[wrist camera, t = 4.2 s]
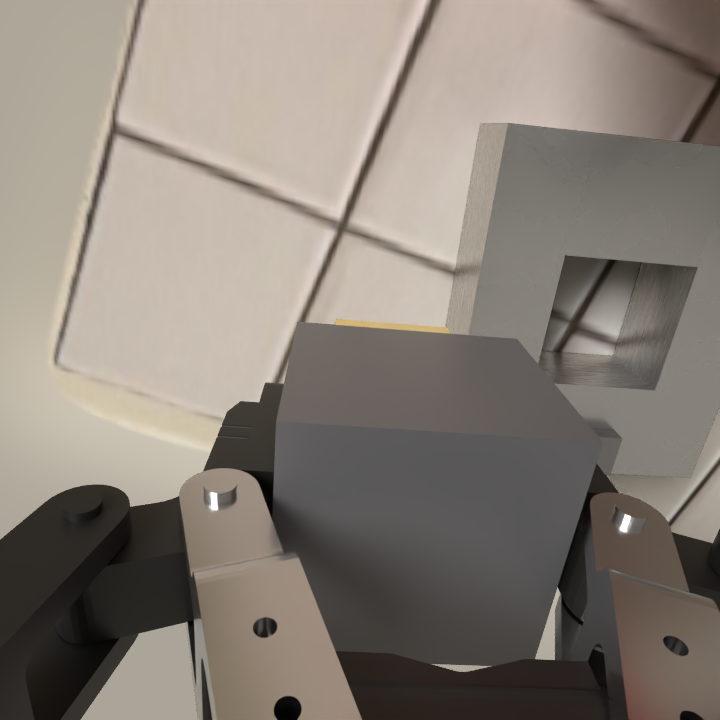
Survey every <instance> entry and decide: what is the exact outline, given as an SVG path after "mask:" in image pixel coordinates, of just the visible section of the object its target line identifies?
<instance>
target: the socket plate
mask: <svg viewBox="0 0 720 720" xmlns="http://www.w3.org/2000/svg"><path fill="white" fill-rule="evenodd" d="M565 255H567V256H578V257H589V258H601V259H612V260H623V261H634V262H642V264H641V267H640V270H639V274H638V277H637V280H636V283H635V287H634V290H633V293H632V296H631V300H630V303H629V306H628V309H627V313H626V316H625V319H624V323H623V326H622V329H621V332H620V336H619V339H618V342H617V345H616V349H615V352H614V355H613V356H604V355H590V354H577V353H563V352H549V351H542V347H543V343H544V339H545V335H546V331H547V327H548V323H549V318H550V314H551V310H552V306H553V302H554V298H555V294H556V290H557V286H558V282H559V278H560V274H561V270H562V266H563V262H564V258H565ZM446 328H448V329H449V331H450V333H451V334H461V335H474V336H487V337H500V338H513V339H518V341H519V342H520V343H521V344H522V345H523V347H524V348H525V349H526V350H527V351H528V353H529V354H530V355H531V356H532V357H533V359H534V360H535V361H536V362H537V363H538V365H539V366H540V367H541V368H542V369H543V371H544V372H545V373H546V374H547V375H548V377H549V378H550V379H551V380H552V381H553V383H554V384H555V385H556V386H557V387H558V389H559V390H560V391H561V392H562V393H563V395H564V396H565V397H566V398H567V399H568V401H569V402H570V403H571V404H572V405H573V407H574V408H575V409H576V410H577V411H578V413H579V414H580V415H581V416H582V417H583V419H584V420H585V421H586V422H587V423H588V425H589V426H590V427H591V428H592V429H593V431H594V432H595V433H596V434H597V435H598V437H599V438H600V439H601V440H602V441H603V444H602V448H601V451H600V454H599V457H598V460H597V464H598V466H599V467H600V468H601V470H602V471H603V472H604V474H605V475H610V474H628V475H646V476H665V477H683V478H691V475H692V473H693V470H694V468H695V465H696V463H697V460H698V458H699V456H700V453H701V451H702V448H703V446H704V443H705V441H706V438H707V436H708V433H709V431H710V429H711V426H712V424H713V421H714V419H715V416H716V414H717V411H718V409H719V406H720V146H713V145H704V144H694V143H685V142H676V141H667V140H658V139H649V138H640V137H631V136H621V135H612V134H603V133H594V132H585V131H576V130H567V129H558V128H548V127H539V126H530V125H521V124H512V123H480V128H479V134H478V140H477V146H476V152H475V158H474V164H473V170H472V175H471V181H470V187H469V193H468V199H467V205H466V211H465V217H464V222H463V228H462V234H461V240H460V246H459V252H458V258H457V264H456V270H455V275H454V281H453V287H452V293H451V299H450V305H449V311H448V317H447V323H446Z"/></svg>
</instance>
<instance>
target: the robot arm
mask: <svg viewBox="0 0 720 720" xmlns="http://www.w3.org/2000/svg"><path fill="white" fill-rule="evenodd" d="M283 386H284V384H279V383H265V385H264V389H263V392H262V395H261V398H260V402H259V403H258V402H244V401H241V402H239V403H238V404H237V405H235V406H234V407H233V408H231V409H230V410H229V411H228V412H227V414H226V416H225V419H224V421H223V423H222V427H221V428H220V431H219V433H218V438H216V441H215V443H214V446H213V448H212V451H211V453H210V456H209V458H208V461H207V463H206V466H205V469H204V471H203V472H201V473H198V474H196V475H194V476H193V477H191V478H190V479H188V480H187V481H186V482H185V483H184V484H183V486H182V487H181V490H180V494H179V496H178V497H176V498H173V499H171V500H167V501H164V502H159V503H153V504H146V505H140V506H133V507H130V503H129V499H128V497H127V495H126V494H125V493H124V492H123V491H121V490H120V489H118V488H115V487H112V486H107V485H86V486H80V487H75V488H72V489H69V490H66V491H64V492H61V493H59V494H57V495H55V496H54V497H52V498H51V499H49V500H48V501H46V502H45V503H44V504H43V505H41V506H40V507H39V508H38V509H37V510H36V511H34V512H33V513H32V514H31V515H29V516H28V517H27V518H26V519H25V520H23V521H22V522H21V523H20V524H19V525H17V526H16V527H15V528H14V529H13V530H11V531H10V532H9V533H8V534H7V535H5V536H4V537H3V538H2V539H1V540H0V720H80V719H81V718H82V716H83V715H84V714H85V712H86V711H87V709H88V708H89V706H90V705H91V704H92V702H93V701H94V699H95V698H96V696H97V695H98V693H99V692H100V691H101V689H102V688H103V686H104V685H105V683H106V682H107V680H108V679H109V677H110V676H111V674H112V673H113V672H114V670H115V669H116V667H117V666H118V665H119V663H120V661H121V660H122V659H123V657H124V656H125V654H126V653H127V651H128V650H129V649H130V647H131V646H132V644H133V643H134V641H135V640H136V638H137V636H138V634H139V633H142V632H146V631H150V630H154V629H159V628H163V627H167V626H172V625H176V624H180V623H185V622H186V629H187V637H188V645H189V652H190V661H191V669H192V676H193V684H194V693H195V701H196V710H197V720H720V529H719V531H718V534H717V536H716V538H715V540H714V542H713V543H709V542H705V541H702V540H698V539H694V538H690V537H687V536H683V535H679V534H676V533H672V532H671V528H670V526H669V523H668V521H667V520H666V519H665V517H664V516H663V515H662V514H661V513H660V512H659V511H657V510H656V509H655V508H653V507H652V506H650V505H649V504H647V503H645V502H643V501H641V500H639V499H637V498H634V497H631V496H628V495H625V494H620V493H619V492H618V491H617V490H616V488H615V487H614V486H613V484H612V483H611V482H610V480H609V479H608V478H607V476H606V475H605V474H604V472H603V471H602V470H601V468H600V467H599V466H598V464H597V463H596V467H595V470H594V473H593V476H592V479H591V482H590V486H589V489H588V492H587V495H586V498H585V501H584V504H583V508H582V511H581V514H580V517H579V520H578V523H577V527H576V530H575V533H574V536H573V539H572V542H571V546H570V549H569V552H568V555H567V558H566V561H565V565H564V568H563V571H562V574H561V577H560V580H559V584H558V589H559V591H560V593H561V594H560V596H559V600H558V602H557V606H556V610H555V660H536V659H523V660H518V661H514V662H509V663H505V664H500V665H496V666H492V667H487V668H483V669H479V670H474V671H470V672H457V671H453V670H449V669H446V668H442V667H439V666H435V665H432V664H428V663H424V662H421V661H417V660H414V659H410V658H406V657H403V656H399V655H396V654H392V653H372V652H348V651H335V649H334V647H333V644H332V641H331V639H330V636H329V634H328V631H327V629H326V626H325V623H324V621H323V618H322V616H321V613H320V611H319V608H318V606H317V603H316V600H315V598H314V595H313V593H312V590H311V588H310V585H309V582H308V580H307V577H306V575H305V572H304V570H303V567H302V565H301V562H300V560H299V557H298V556H297V554H296V553H295V552H294V551H290V552H285V553H284V552H283V549H282V546H281V544H280V541H279V538H278V535H277V533H276V530H275V527H274V524H273V521H272V514H273V488H274V461H275V435H276V419H277V414H278V410H279V405H280V400H281V396H282V391H283Z"/></svg>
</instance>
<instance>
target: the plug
mask: <svg viewBox="0 0 720 720" xmlns="http://www.w3.org/2000/svg"><path fill="white" fill-rule="evenodd" d="M602 444H603V441H602V440H601V439H600V438H599V437H598V435H597V434H596V433H595V432H594V431H593V429H592V428H591V427H590V426H589V425H588V423H587V422H586V421H585V420H584V419H583V417H582V416H581V415H580V414H579V413H578V411H577V410H576V409H575V408H574V407H573V405H572V404H571V403H570V402H569V401H568V399H567V398H566V397H565V396H564V395H563V393H562V392H561V391H560V390H559V389H558V387H557V386H556V385H555V384H554V383H553V381H552V380H551V379H550V378H549V377H548V375H547V374H546V373H545V372H544V371H543V369H542V368H541V367H540V366H539V365H538V363H537V362H536V361H535V360H534V359H533V357H532V356H531V355H530V354H529V353H528V351H527V350H526V349H525V348H524V347H523V345H522V344H521V343H520V342H519V341H518V339H513V338H500V337H487V336H474V335H461V334H451V333H450V331H449V329H448V328H444V327H431V326H419V325H406V324H393V323H380V322H367V321H354V320H342V319H336V321H335V325H331V324H318V323H305V322H297V326H296V331H295V335H294V340H293V345H292V349H291V354H290V359H289V363H288V368H287V373H286V377H285V382H284V386H283V391H282V396H281V400H280V405H279V410H278V414H277V419H276V435H275V461H274V488H273V514H272V521H273V524H274V527H275V530H276V533H277V535H278V538H279V541H280V544H281V546H282V549H283V552H284V553H285V552H290V551H294V552H295V553H296V554H297V556H298V557H299V560H300V562H301V565H302V567H303V570H304V572H305V575H306V577H307V580H308V582H309V585H310V588H311V590H312V593H313V595H314V598H315V600H316V603H317V606H318V608H319V611H320V613H321V616H322V618H323V621H324V623H325V626H326V629H327V631H328V634H329V636H330V639H331V641H332V644H333V647H334V649H335V651H348V652H372V653H392V654H396V655H399V656H403V657H406V658H410V659H414V660H417V661H421V662H424V663H428V664H451V665H480V666H496V665H500V664H505V663H509V662H514V661H518V660H523V659H535V656H536V653H537V650H538V647H539V643H540V640H541V637H542V634H543V631H544V628H545V624H546V621H547V618H548V615H549V612H550V608H551V605H552V602H553V599H554V596H555V593H556V590H557V587H558V584H559V580H560V577H561V574H562V571H563V568H564V565H565V561H566V558H567V555H568V552H569V549H570V546H571V542H572V539H573V536H574V533H575V530H576V527H577V523H578V520H579V517H580V514H581V511H582V508H583V504H584V501H585V498H586V495H587V492H588V489H589V486H590V482H591V479H592V476H593V473H594V470H595V467H596V463H597V460H598V457H599V454H600V451H601V448H602Z"/></svg>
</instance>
